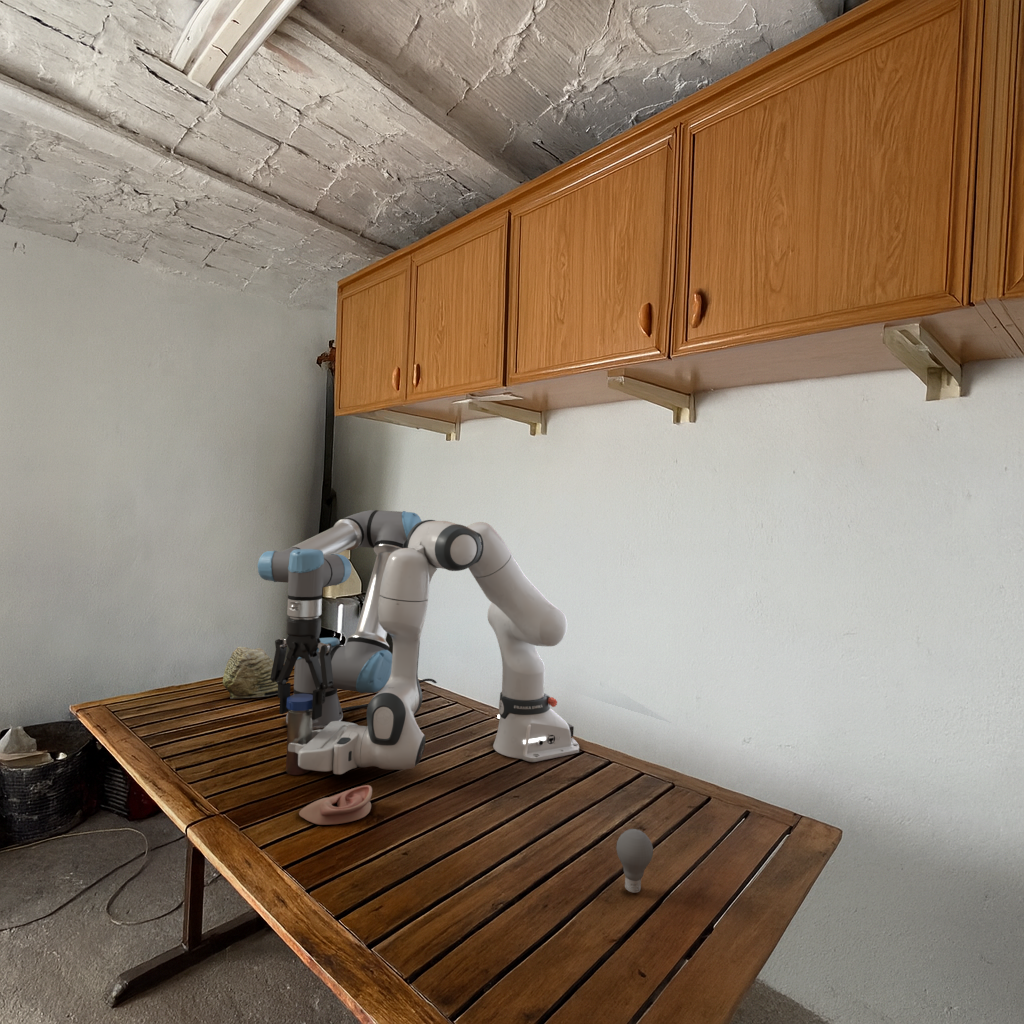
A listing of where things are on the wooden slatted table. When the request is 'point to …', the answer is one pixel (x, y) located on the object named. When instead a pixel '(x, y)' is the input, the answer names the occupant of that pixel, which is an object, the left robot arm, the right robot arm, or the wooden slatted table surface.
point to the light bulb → (634, 857)
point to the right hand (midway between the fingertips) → (295, 740)
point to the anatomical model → (339, 807)
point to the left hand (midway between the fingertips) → (300, 714)
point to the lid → (299, 702)
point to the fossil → (249, 674)
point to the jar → (298, 737)
